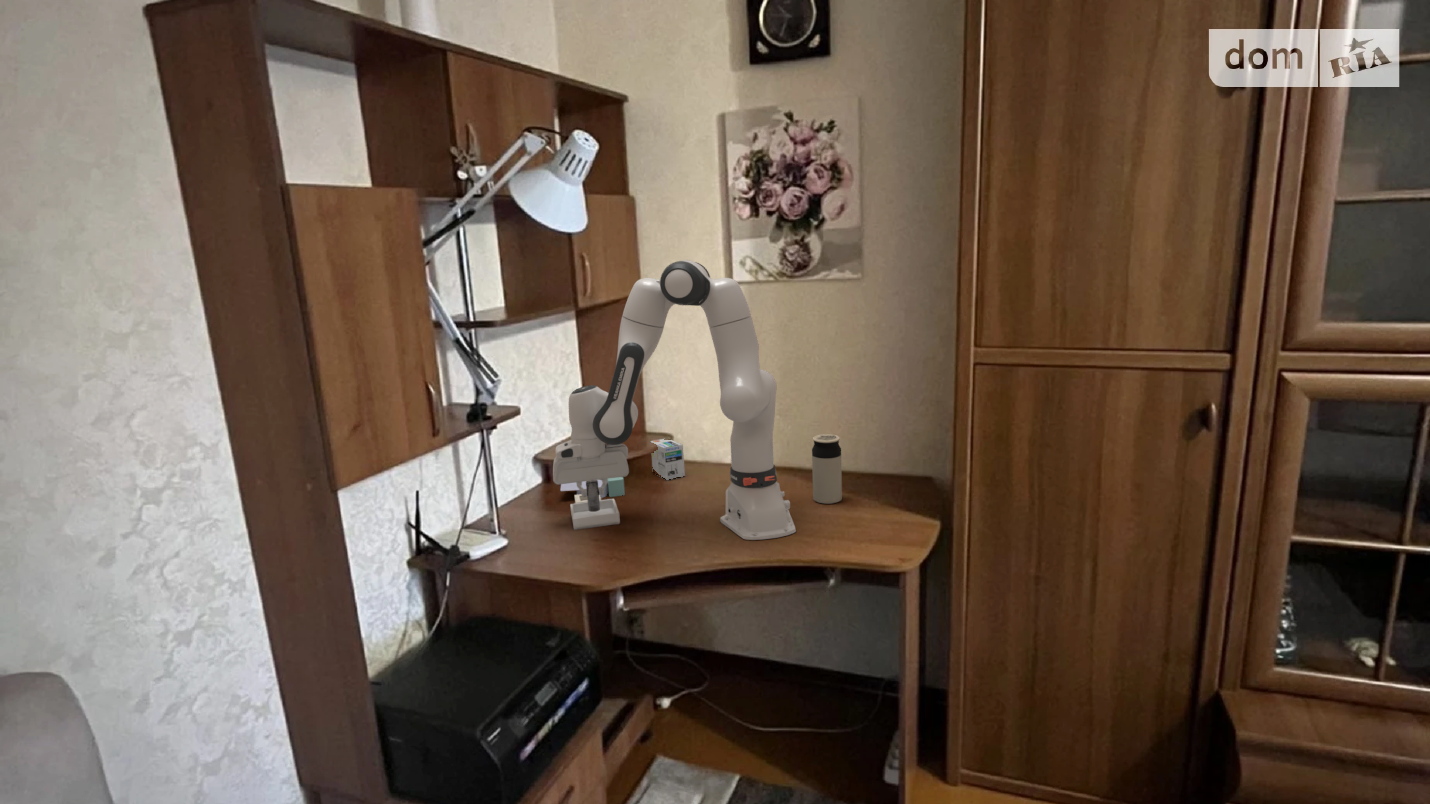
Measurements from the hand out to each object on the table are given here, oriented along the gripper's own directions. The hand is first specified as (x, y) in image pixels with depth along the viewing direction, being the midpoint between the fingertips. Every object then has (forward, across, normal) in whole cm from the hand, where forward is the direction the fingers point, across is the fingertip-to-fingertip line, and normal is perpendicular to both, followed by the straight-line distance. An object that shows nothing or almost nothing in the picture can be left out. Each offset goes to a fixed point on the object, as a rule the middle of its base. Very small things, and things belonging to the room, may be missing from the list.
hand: (592, 495), depth 210 cm
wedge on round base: (+7, +1, -21) cm, 22 cm away
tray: (+7, 0, 0) cm, 7 cm away
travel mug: (+7, -64, +9) cm, 65 cm away
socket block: (+7, +1, -10) cm, 12 cm away
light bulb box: (+7, -26, -31) cm, 41 cm away
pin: (+4, 0, 0) cm, 4 cm away
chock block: (+7, -8, -19) cm, 22 cm away
